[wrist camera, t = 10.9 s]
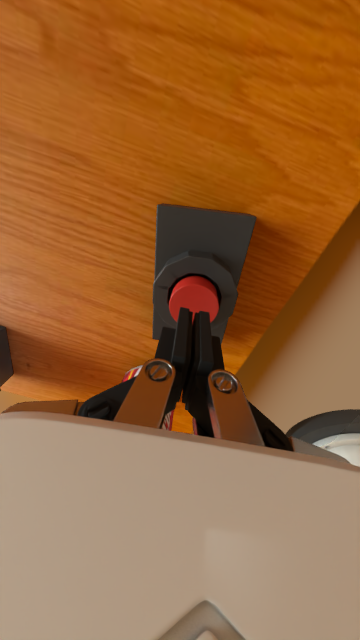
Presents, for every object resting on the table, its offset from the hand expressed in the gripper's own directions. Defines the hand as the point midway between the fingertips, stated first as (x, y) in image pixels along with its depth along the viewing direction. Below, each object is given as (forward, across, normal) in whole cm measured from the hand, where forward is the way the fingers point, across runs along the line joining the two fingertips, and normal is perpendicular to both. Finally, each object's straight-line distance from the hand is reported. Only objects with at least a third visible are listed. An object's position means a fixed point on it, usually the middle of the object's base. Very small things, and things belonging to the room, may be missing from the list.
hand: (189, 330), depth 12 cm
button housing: (+9, 0, 0) cm, 9 cm away
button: (+5, 0, 0) cm, 5 cm away
